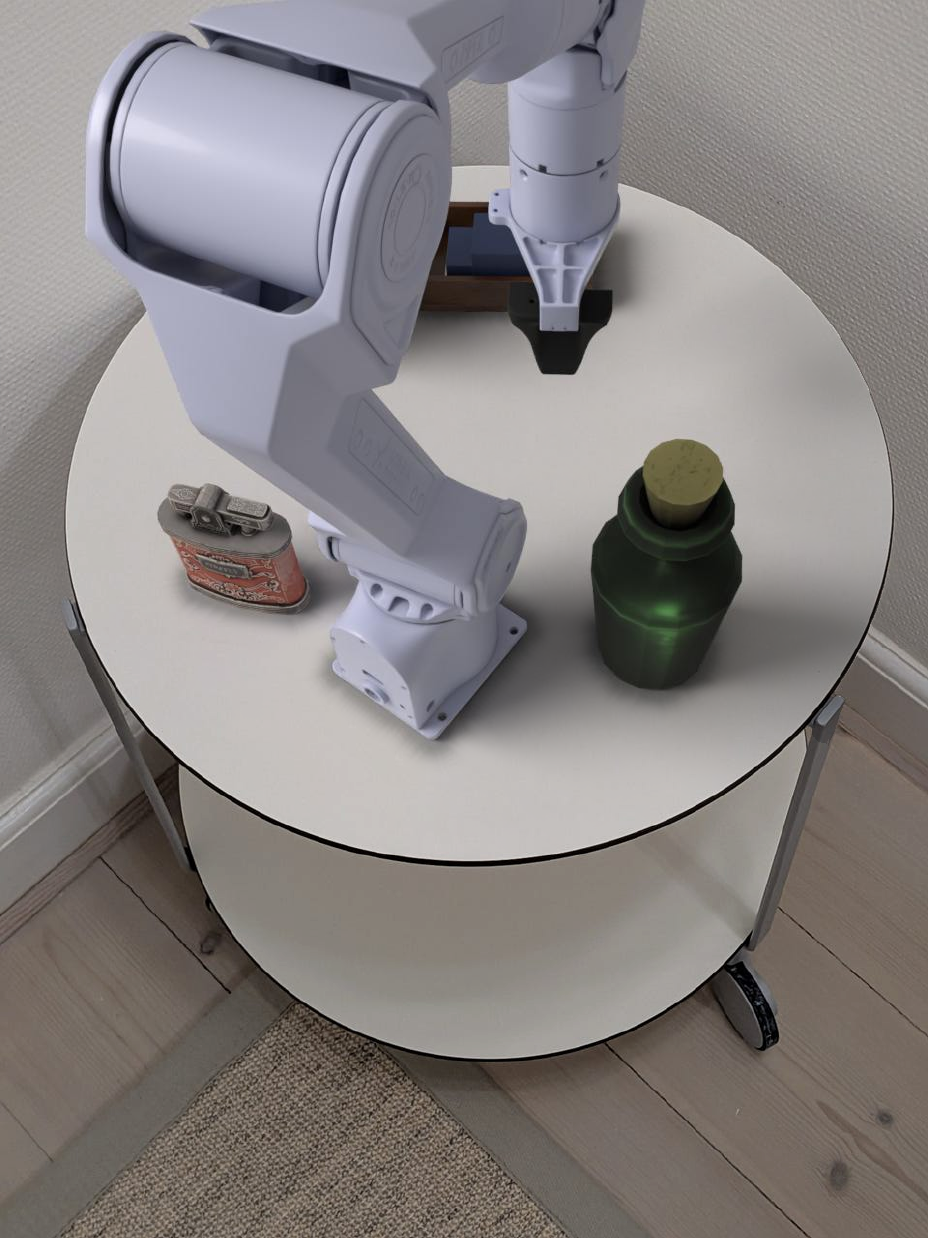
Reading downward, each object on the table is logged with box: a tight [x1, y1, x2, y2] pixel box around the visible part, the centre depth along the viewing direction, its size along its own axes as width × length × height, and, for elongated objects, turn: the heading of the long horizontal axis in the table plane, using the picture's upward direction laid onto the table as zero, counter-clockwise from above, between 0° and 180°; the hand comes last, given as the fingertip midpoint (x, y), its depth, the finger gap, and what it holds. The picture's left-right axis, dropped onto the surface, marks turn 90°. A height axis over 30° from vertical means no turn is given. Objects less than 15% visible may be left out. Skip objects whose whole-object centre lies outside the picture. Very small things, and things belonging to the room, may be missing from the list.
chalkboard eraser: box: [445, 213, 531, 277], centre depth 86 cm, size 8×4×4 cm, turn 86°
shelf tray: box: [419, 201, 594, 312], centre depth 88 cm, size 12×8×3 cm, turn 86°
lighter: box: [156, 482, 312, 615], centre depth 74 cm, size 8×3×10 cm, turn 73°
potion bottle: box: [590, 438, 743, 691], centre depth 67 cm, size 8×8×18 cm
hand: (560, 319), depth 75 cm, fingers open, 7 cm apart
